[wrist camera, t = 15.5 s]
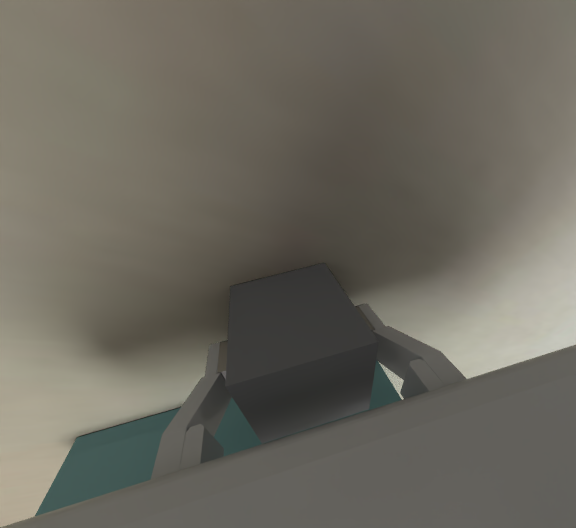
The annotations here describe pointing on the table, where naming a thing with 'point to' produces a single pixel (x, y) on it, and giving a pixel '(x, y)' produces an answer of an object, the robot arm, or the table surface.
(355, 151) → the table surface
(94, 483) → the teal tray
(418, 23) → the table surface
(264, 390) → the charcoal block
